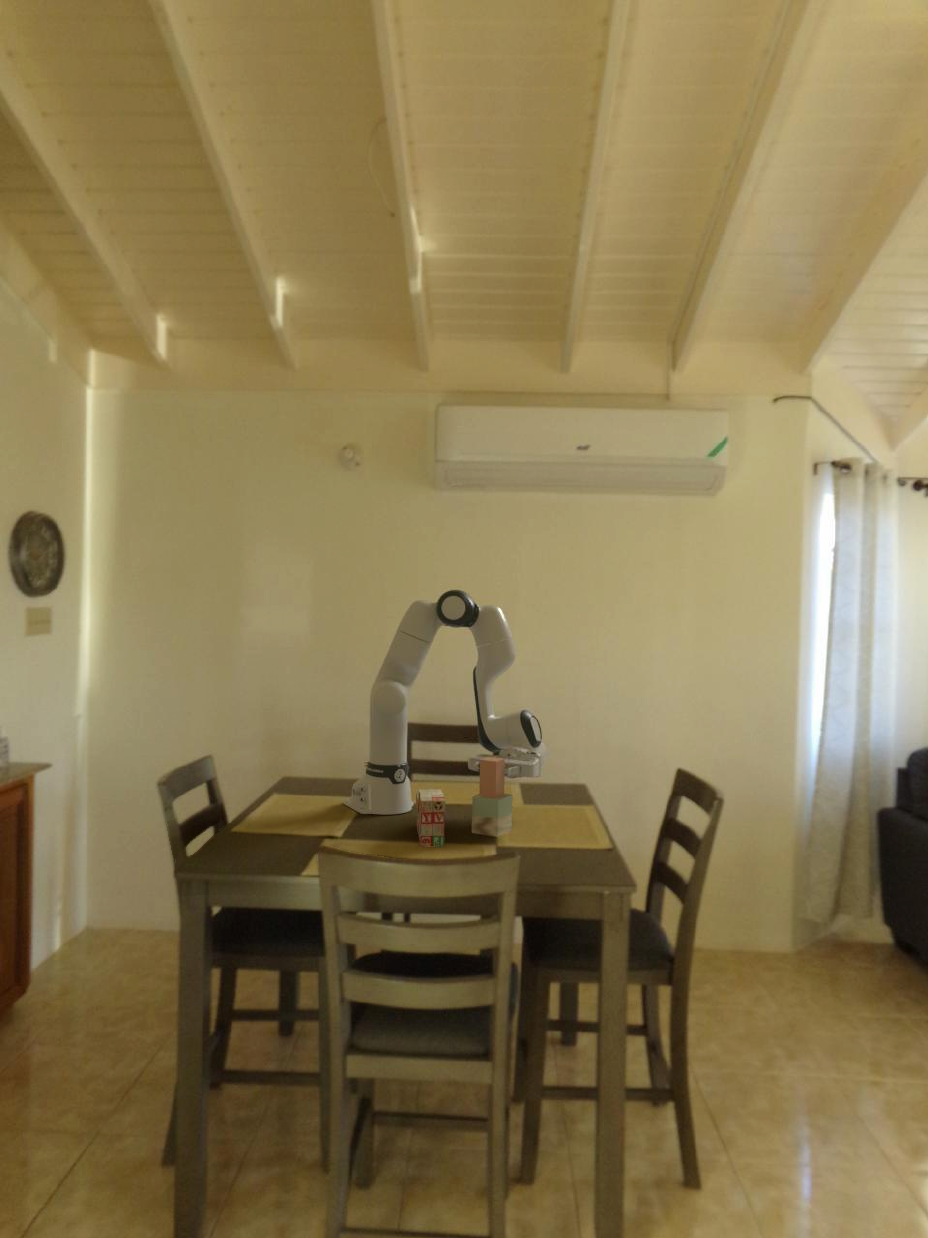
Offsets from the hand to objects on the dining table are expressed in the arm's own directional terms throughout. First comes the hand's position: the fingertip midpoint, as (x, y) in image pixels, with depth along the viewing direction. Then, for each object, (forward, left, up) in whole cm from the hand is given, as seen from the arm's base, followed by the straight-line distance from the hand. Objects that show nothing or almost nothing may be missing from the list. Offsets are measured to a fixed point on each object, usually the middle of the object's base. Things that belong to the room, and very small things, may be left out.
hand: (490, 770), depth 253 cm
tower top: (-1, +1, -12) cm, 12 cm away
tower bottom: (-1, +1, -17) cm, 17 cm away
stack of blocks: (-8, -15, -17) cm, 24 cm away
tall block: (-1, +1, -7) cm, 7 cm away
